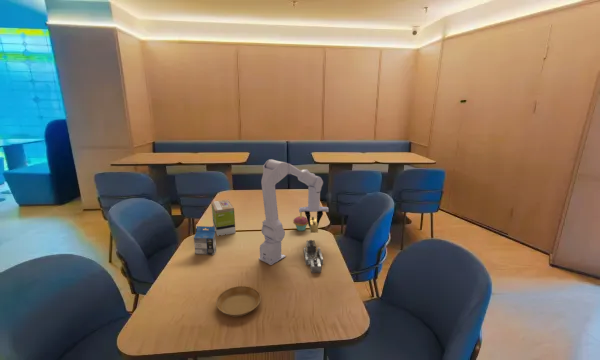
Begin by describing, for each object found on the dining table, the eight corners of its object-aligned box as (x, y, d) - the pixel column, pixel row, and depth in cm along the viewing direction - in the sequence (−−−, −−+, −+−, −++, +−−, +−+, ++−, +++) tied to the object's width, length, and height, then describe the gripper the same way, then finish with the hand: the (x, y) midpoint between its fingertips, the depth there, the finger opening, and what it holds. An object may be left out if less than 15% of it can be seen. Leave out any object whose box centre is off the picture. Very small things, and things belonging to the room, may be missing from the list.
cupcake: (308, 232, 152) (308, 211, 149) (292, 232, 152) (293, 211, 149) (308, 226, 160) (308, 206, 157) (293, 225, 161) (293, 205, 158)
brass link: (317, 232, 137) (318, 223, 136) (310, 232, 137) (310, 223, 136) (315, 225, 146) (315, 216, 145) (308, 225, 146) (309, 216, 144)
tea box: (212, 225, 159) (210, 201, 156) (230, 223, 163) (229, 198, 160) (216, 236, 146) (215, 209, 142) (236, 233, 150) (234, 207, 147)
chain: (325, 272, 115) (325, 264, 114) (307, 273, 115) (307, 265, 114) (317, 245, 137) (318, 239, 136) (302, 246, 137) (302, 239, 136)
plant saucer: (242, 286, 106) (242, 280, 105) (269, 303, 97) (269, 297, 96) (207, 307, 95) (207, 300, 94) (235, 328, 86) (234, 321, 85)
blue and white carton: (194, 254, 128) (192, 229, 125) (198, 250, 132) (195, 226, 129) (214, 255, 128) (212, 230, 125) (216, 250, 132) (215, 226, 128)
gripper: (327, 196, 142) (326, 221, 145) (298, 197, 141) (298, 222, 144) (329, 201, 135) (328, 227, 138) (299, 201, 134) (299, 227, 137)
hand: (313, 225), depth 141 cm, fingers closed on brass link, 3 cm apart
